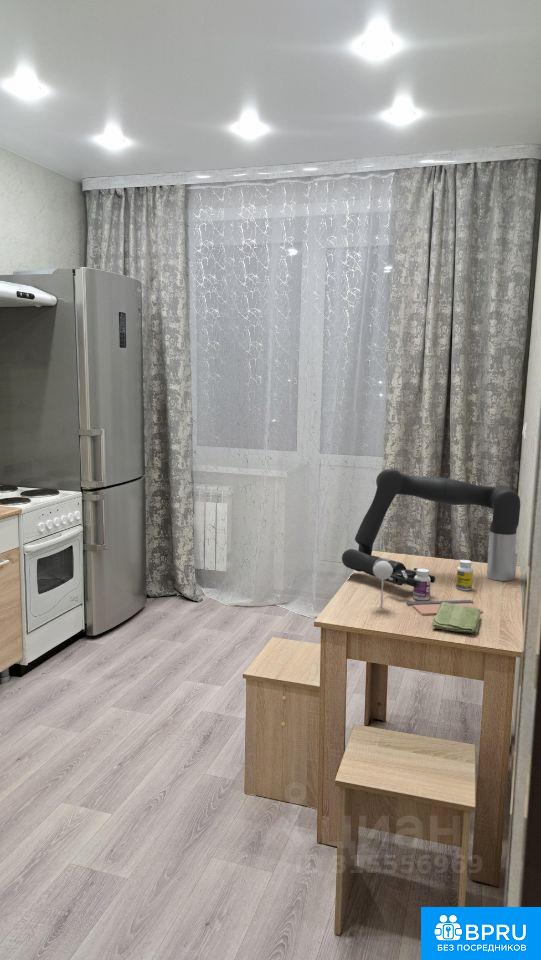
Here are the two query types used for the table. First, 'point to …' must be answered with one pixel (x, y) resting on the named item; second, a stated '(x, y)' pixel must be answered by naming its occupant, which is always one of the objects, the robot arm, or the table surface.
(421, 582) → the pill bottle
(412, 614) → the table surface
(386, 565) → the lollipop
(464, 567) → the supplement bottle
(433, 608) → the mat
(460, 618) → the washcloth
